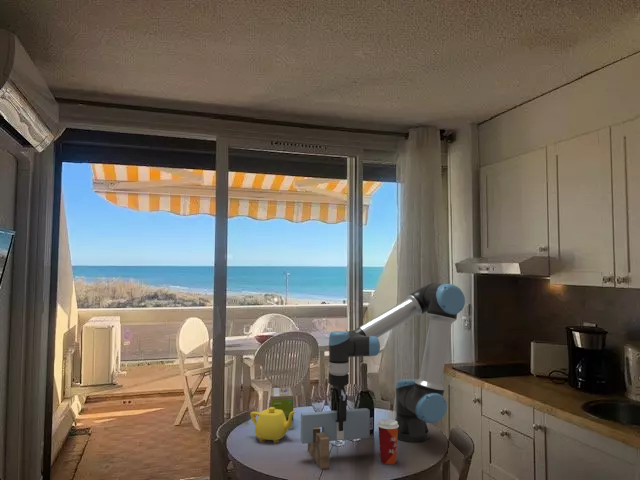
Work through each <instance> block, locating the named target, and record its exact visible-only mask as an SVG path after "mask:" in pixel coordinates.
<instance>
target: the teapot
mask: <svg viewBox="0 0 640 480" xmlns="http://www.w3.org/2000/svg"><path fill="white" fill-rule="evenodd" d="M295 413H297V410H293V412H290V414H289V418H288V421H287V420H286V417H285V414H284V412H283V411H282V410H279V409H275V408H274V407H271V406H270V407H268V408H266V409H264V410H262V411H260V412H259V411H251V412H250V415H249V416H250V418H251V419H250V420H251V421H252V422H253V424H254V426H255V427H254V428H255V429H254V433H255V435H256V437H257V438H258V442H263V443H264V442H265V441H266V440H268V441H269V440H270V441H272V443H275V444H277V443H280V439H282V438H284V437H285V436H286V434H287V433H288V430H290V429H289V428H290V427H291V424H292V417H293V418H294V414H295ZM256 415H257V416H258V418H257V420H256Z"/></svg>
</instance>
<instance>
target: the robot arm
mask: <svg viewBox="0 0 640 480" xmlns="http://www.w3.org/2000/svg"><path fill="white" fill-rule="evenodd" d="M465 304H466V297H465V294H464V292H463V291H462V289H461V288H460V287H458V285H455V284H450V283H438V282H437V283H436V282H432V283H429V284H426V285H423V286H422V287H420V288H418V289H416V290H415V291H412V293H409V294H408V295H407V297H406V299H405V300H402V301H401V302H400V303H398V304H396V305H394V306H393V307H391V308H389V309H388V310H386V311H384V312H383V313H380V314H379V315H377V316H375V317H374V318H372V319H370V320H369V321H367V322H366V323H364V324H362V325H360V326H359V327H357V328H355V329H353V330H348V331H345V330H342V331H341V330H339V331H338V330H334V331H331V332H330V333H329V337H328V365H327V368H328V373H329V374H328V384H329V385H331V387H330V389H329V390H330V411H335V410H337V420H335V421H336V440H338V441H342V440H341V439H344V421H346V412H347V410H348V397H349V396H348V394H346V389H345V387H346V386H348V385H349V381H350V376H349V375H350V374H349V373H350V358H354V357H355V358H357V357H360V358H361V357H376V356H378V355H379V353H380V350H381V345H380V344H381V343H380V340H379V338H380V337H381V336H383V335H385V334H386V333H388V332H389V331H391V330H393V329H395V328H396V327H397V326H399V325H401V324H403V323H405V322H406V321H408V320H410V319H411V318H413V317H415V316H422V315H424V314H426V315H427V316H428V318H429V323H428V328H427V329H428V330H427V334H426V339H425V344H424V345H425V346H424V351H423V357H422V362H421V366H420V373H419V378H417V379H416V378H406V379H399V380H397V381H396V385H395V405H396V408H395V410H396V414H395V419H394V420H395V421H397V422H398V425H399V427H398V437H397V440H399V441H403V442H411V443H417V442H424V441H427V440H428V439H430V430H429V428H428V425H427V424H434V423H437V422H439V421H441V420H442V419H443V418H444V417H445V415H446V413H447V409H448V405H447V403H448V402H447V401H446V399H445V397H444V392H445V388H444V386H443V383H442V381H443V376H444V370H445V365H446V358H447V352H448V347H449V342H450V341H449V340H450V337H451V336H450V335H451V330H452V324H453V323H454V322H456V321H457V317H458V315H459V313H461V311H463V310H464V307H465Z"/></svg>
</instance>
